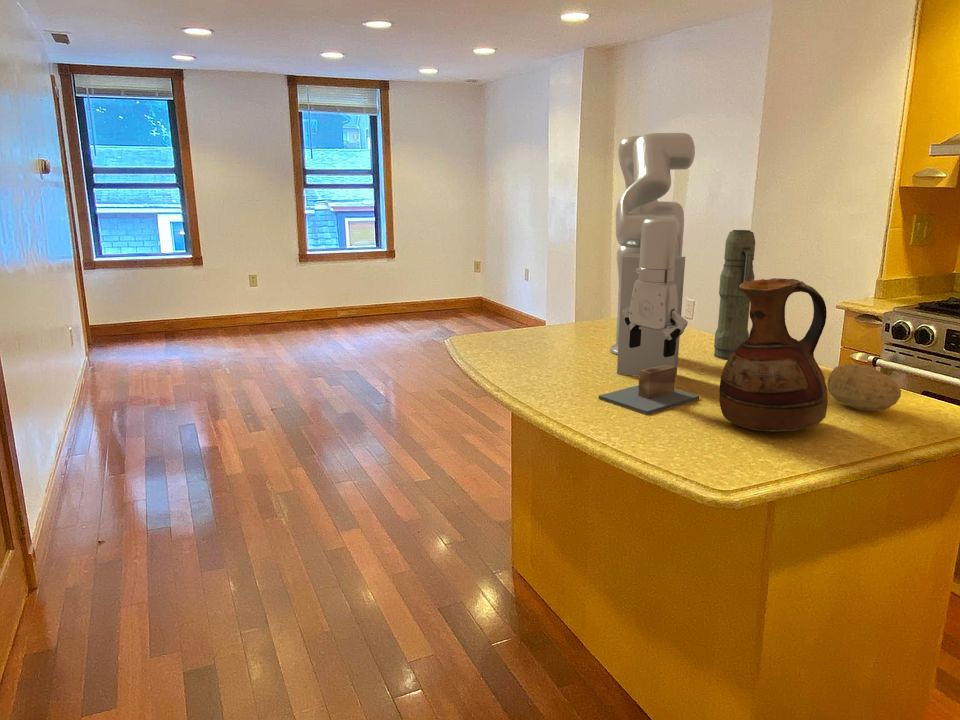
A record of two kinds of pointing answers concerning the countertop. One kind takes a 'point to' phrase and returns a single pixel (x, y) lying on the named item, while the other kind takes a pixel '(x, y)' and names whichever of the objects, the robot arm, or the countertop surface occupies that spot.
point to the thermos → (734, 293)
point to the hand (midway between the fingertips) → (651, 351)
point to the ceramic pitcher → (775, 364)
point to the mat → (647, 400)
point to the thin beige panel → (651, 339)
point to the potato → (863, 387)
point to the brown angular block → (657, 381)
